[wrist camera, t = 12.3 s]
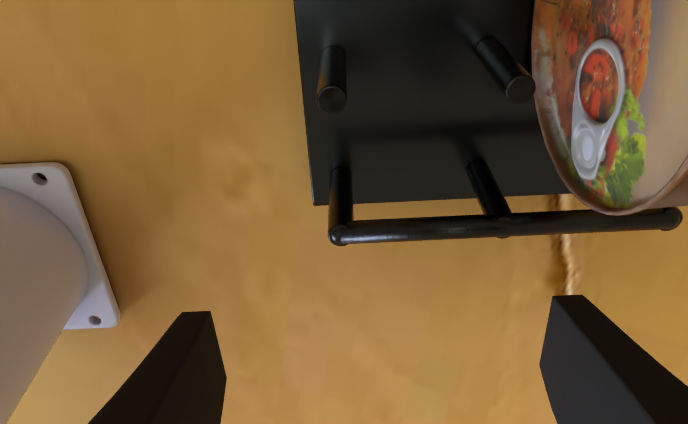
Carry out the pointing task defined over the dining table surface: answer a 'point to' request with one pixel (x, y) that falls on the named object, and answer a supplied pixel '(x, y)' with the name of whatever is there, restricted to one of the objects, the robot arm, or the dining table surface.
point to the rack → (432, 120)
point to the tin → (614, 99)
